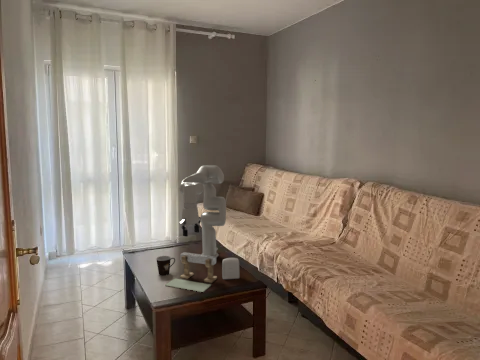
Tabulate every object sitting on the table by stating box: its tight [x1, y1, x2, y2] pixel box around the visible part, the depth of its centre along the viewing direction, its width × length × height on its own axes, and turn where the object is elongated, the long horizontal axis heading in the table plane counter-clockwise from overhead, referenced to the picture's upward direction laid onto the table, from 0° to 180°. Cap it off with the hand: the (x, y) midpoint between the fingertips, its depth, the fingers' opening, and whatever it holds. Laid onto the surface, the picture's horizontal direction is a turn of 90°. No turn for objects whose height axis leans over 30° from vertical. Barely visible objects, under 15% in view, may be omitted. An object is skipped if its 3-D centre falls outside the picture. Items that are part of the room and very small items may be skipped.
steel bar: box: [179, 251, 217, 266], centre depth 212 cm, size 4×22×4 cm, turn 67°
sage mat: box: [164, 278, 212, 293], centre depth 202 cm, size 10×24×1 cm, turn 67°
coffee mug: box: [155, 255, 176, 277], centre depth 220 cm, size 12×9×10 cm
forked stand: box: [179, 256, 218, 284], centre depth 212 cm, size 7×21×13 cm, turn 67°
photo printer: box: [221, 257, 241, 280], centre depth 212 cm, size 10×4×12 cm, turn 96°
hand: (191, 234), depth 209 cm, fingers open, 9 cm apart
